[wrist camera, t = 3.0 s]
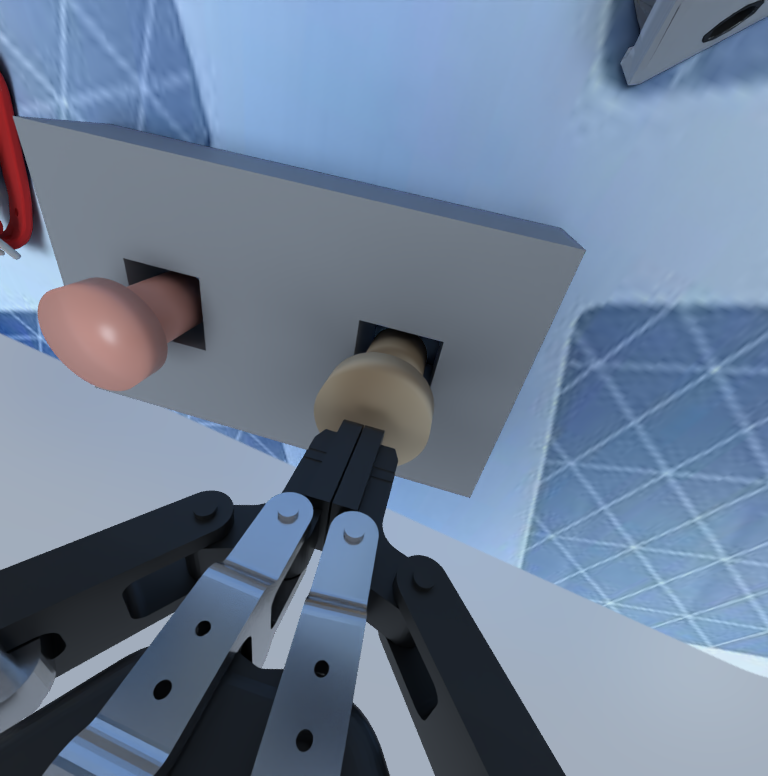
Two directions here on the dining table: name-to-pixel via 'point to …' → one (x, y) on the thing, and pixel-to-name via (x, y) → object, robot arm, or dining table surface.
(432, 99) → the dining table surface
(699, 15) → the electrical switch
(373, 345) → the tan dome on base
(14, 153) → the red retractable dog leash
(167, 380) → the plug block
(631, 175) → the dining table surface
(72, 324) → the salmon pink plug
